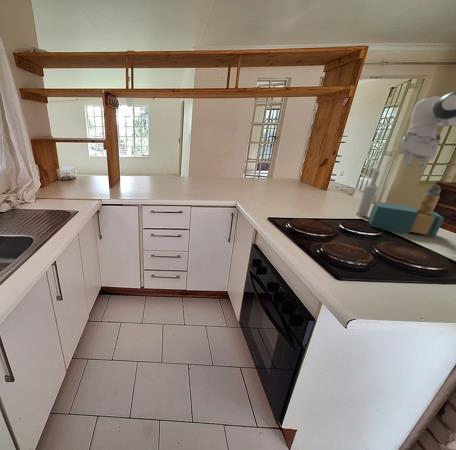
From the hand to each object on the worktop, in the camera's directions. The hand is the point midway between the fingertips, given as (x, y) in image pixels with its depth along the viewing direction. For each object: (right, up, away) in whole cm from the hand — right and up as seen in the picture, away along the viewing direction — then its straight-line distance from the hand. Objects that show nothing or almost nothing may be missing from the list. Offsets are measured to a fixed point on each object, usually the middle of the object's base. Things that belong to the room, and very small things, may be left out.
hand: (414, 166), depth 109 cm
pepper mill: (+3, -29, +2) cm, 29 cm away
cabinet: (-5, -28, +8) cm, 30 cm away
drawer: (+3, -30, +3) cm, 30 cm away
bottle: (-2, -22, +26) cm, 34 cm away
